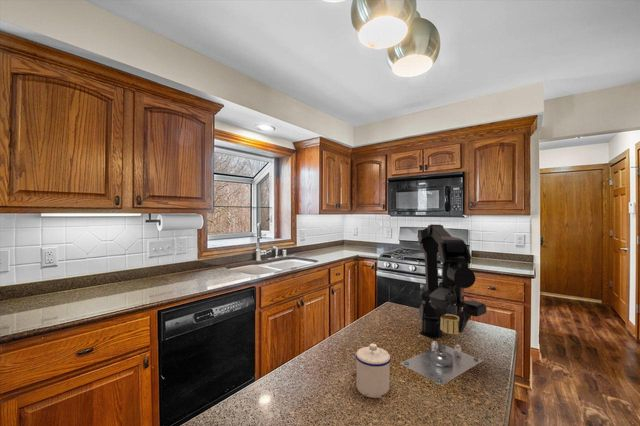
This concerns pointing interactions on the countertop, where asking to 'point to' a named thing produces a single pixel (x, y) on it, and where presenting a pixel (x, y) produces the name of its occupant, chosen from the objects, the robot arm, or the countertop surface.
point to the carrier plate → (440, 371)
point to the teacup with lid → (372, 371)
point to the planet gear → (450, 324)
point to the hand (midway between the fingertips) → (450, 328)
